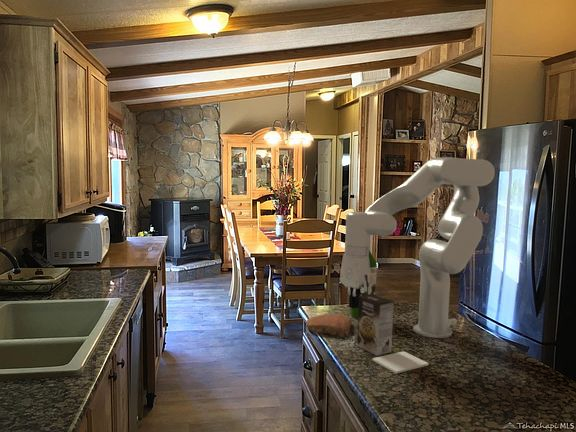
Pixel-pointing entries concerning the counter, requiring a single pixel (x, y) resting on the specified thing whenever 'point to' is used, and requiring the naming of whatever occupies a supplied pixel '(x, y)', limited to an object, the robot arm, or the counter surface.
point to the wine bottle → (372, 285)
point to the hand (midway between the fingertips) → (354, 307)
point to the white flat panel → (400, 362)
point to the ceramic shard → (330, 324)
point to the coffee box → (375, 324)
